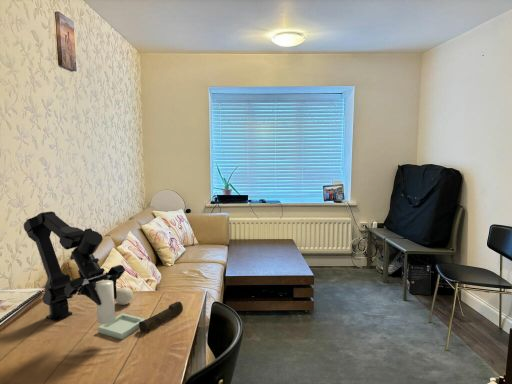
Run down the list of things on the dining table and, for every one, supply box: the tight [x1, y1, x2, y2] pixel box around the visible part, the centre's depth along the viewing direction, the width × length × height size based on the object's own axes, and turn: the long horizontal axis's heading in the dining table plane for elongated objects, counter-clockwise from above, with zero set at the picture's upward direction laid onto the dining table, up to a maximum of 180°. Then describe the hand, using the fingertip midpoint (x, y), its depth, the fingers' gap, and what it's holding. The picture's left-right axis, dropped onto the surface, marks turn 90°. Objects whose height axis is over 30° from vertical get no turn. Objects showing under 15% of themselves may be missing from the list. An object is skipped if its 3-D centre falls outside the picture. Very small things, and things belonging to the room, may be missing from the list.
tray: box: [97, 313, 147, 340], centre depth 121 cm, size 11×11×2 cm
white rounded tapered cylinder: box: [95, 280, 116, 325], centre depth 112 cm, size 5×5×12 cm
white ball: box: [114, 286, 134, 306], centre depth 141 cm, size 7×7×7 cm
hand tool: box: [138, 301, 184, 334], centre depth 126 cm, size 19×4×5 cm, turn 144°
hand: (108, 301), depth 112 cm, fingers closed on white rounded tapered cylinder, 5 cm apart
